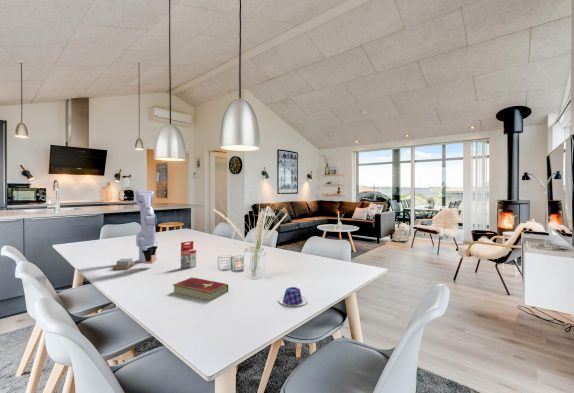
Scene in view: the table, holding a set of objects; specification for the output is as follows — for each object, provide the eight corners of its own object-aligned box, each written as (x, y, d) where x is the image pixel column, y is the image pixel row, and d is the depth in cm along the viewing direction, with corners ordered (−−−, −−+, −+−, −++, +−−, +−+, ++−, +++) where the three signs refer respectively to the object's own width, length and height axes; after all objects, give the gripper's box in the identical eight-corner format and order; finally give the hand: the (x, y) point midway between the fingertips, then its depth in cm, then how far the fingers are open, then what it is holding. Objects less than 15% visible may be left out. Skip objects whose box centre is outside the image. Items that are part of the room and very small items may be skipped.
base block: (120, 266, 164) (120, 262, 164) (134, 266, 165) (134, 262, 165) (112, 270, 157) (112, 266, 156) (127, 270, 157) (127, 266, 157)
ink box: (196, 266, 165) (196, 241, 164) (183, 269, 159) (183, 243, 159) (193, 265, 167) (193, 240, 167) (180, 267, 162) (180, 242, 161)
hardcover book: (192, 285, 135) (192, 276, 135) (228, 292, 126) (228, 283, 126) (172, 293, 124) (172, 283, 124) (210, 302, 115) (210, 291, 115)
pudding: (290, 294, 124) (290, 282, 124) (313, 301, 117) (313, 288, 117) (272, 302, 115) (272, 289, 115) (295, 310, 108) (295, 297, 107)
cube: (147, 261, 163) (147, 255, 163) (154, 261, 163) (154, 255, 163) (144, 263, 159) (144, 256, 159) (152, 263, 159) (152, 256, 159)
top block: (121, 263, 163) (121, 258, 163) (132, 262, 164) (132, 258, 164) (116, 265, 157) (116, 261, 157) (128, 265, 158) (128, 261, 158)
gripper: (148, 234, 168) (148, 257, 168) (136, 238, 153) (136, 263, 154) (160, 234, 168) (160, 257, 169) (150, 238, 154) (150, 263, 154)
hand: (149, 260), depth 161 cm, fingers closed on cube, 4 cm apart
